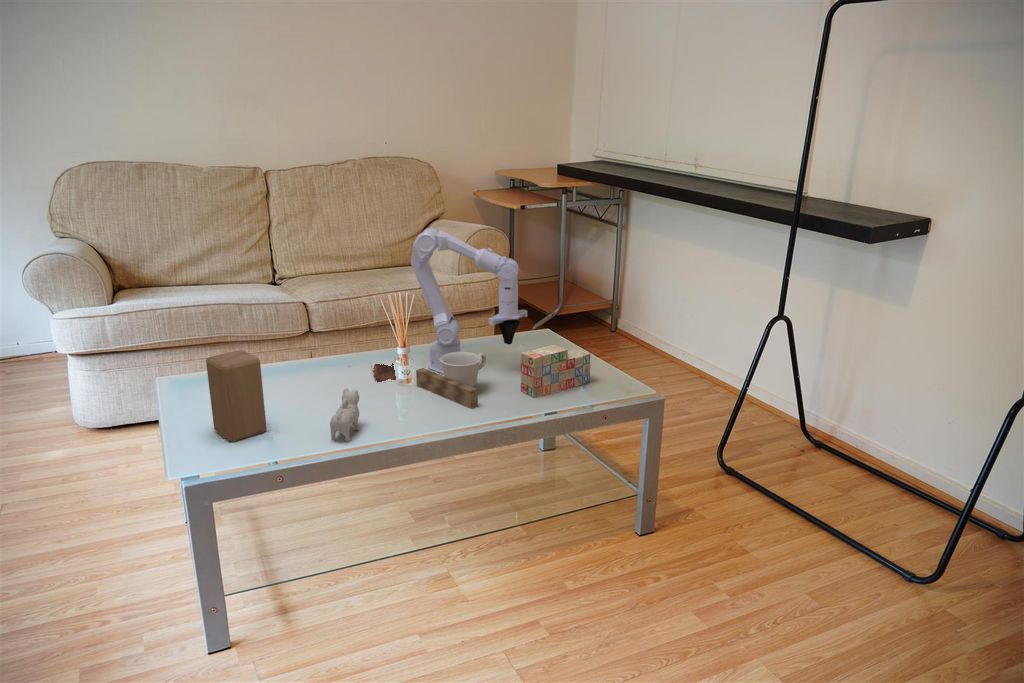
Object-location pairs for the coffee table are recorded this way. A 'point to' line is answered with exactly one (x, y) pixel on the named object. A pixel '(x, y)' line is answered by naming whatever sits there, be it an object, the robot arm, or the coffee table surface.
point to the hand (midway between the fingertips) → (508, 343)
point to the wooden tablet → (384, 372)
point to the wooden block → (236, 394)
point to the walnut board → (447, 388)
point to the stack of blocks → (553, 370)
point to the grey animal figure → (346, 415)
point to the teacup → (462, 366)
